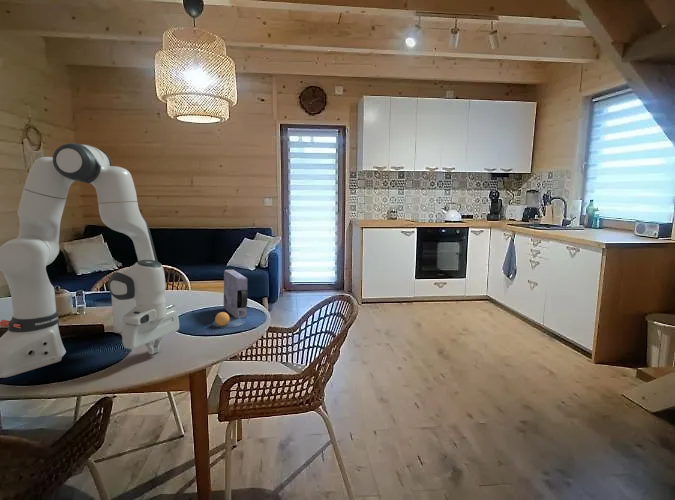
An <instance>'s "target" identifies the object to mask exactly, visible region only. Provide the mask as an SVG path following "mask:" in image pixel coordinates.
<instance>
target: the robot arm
mask: <svg viewBox="0 0 675 500" xmlns="http://www.w3.org/2000/svg"><path fill="white" fill-rule="evenodd" d="M74 182H81V183H85V184H91V185H92V186H93V187H94V189H95V191H96V196H97V197H96V198H97V203H98V213H99V216H100V220H101V222H102V223H103V224H104V225H105V226H106V227H107V228H109V229H111V230H112V231H115V232H118V233H122V234H124V235H126V236H128V237H129V238H130V239H131V240H132V242H133V246H134V250H135V254H136V257H137V262H135V263H134V264H133V265H131V266H130V267H127V268H124V269H120V270H117V271H115V272H113V273H111V275H110V277H109V278H108V283H107V285H108V286H107V287H108V290H109V293H110V294H111V297H112V296H114V297H115V298H116V299H119V300H128V299H135V300H136V307H134V308H133V309H132V310H131V311H130V312H128V313H127V314H125V315H124V316H123V318H122V321H123V322H124V323H126V324H124V326H123V329H122V333H121V337H122V338H121V341H122V346H123V347H124V348H125V349H128V350H135V349H137V348H140V347H142V346H145V347H146V348H147V351H148V354H149V355H154V354H156V353H157V352H159V351H160V345H161V344H162V341H163V338H164V337H165V336H167V335H171V334H173V333H176V332H177V331H179V329H180V320H179V315H178V311H177V306H176V305H174V304H169V305H167V298H166V293H165V292H166V287H167V285H166V277H165V270H164V267H163V265H162V263H160V262H159V261H158V257H157V253H156V249H155V245H154V240H153V238H152V234H151V230H150V226H149V224H148V223H147V222H148V221H147V220H146V219H145V218H144V217H143V215H142V214H141V211H140V208H139V204H138V196H137V190H136V187H135V183H134V179H133V177H132V174H131V172H130V171H129V170H127V168H123V167H121V166H115V165H113V162H112V160H111V158H110V156H109V155H108V153H107V152H105V151H104V150H103V149H100V148H98V147H95V146H92V145H89V144H85V143H83V144H81V143H78V142H77V143H76V142H69V143H64V144H62V145H60V146H59V147H57V148H56V150H55V151H54V152H53V155H52V156H42V157H39V158H37V159H36V160H35V161H34V162H33V164H32V166H31V168H30V170H29V172H28V174H27V177H26V179H25V183H24V186H23V188H22V189H23V190H22V193H21V198H20V200H19V201H20V202H19V205H18V209H17V217H18V218H19V220H18V221H19V232H18V235H17V237H16V238H12V239H10V240H7V241H6V242H5V243H3V244H2V245H1V246H0V272H1V273H2V274H3V276H4V278H5V280H6V283H7V286H8V288H9V292H10V296H11V305H12V314H13V315H12V317H11V318H10V319H11V320H6V319H2V320H0V327H4V328H8V329H7V331H6V332H5V333H3V335H1V337H0V379H1V378H3V379H5V378H9V377H13V376H17V375H20V374H23V373H26V372H29V371H33V370H36V369H39V368H42V367H45V366H49V365H52V364H56V363H59V362H61V361H62V359H63V357H64V355H65V354H66V353H67V351H66V348H65V347H64V344H63V340H62V337H61V334H60V329H59V326H60V325H59V323H60V319H59V317H60V316H59V311H58V310H57V305H56V293H55V287H54V286H53V284H52V283H51V281H50V279H49V276H48V272H47V266H48V265H49V266H50V264H52V263H53V262H54V261H55V260H56V258H57V256H58V255H59V254H60V245H59V244H60V243H59V242H60V232H61V231H60V230H61V221H62V218H63V217H62V216H63V213H64V211H65V206H66V202H67V197H68V194H69V190H70V187H71V185H72V184H73V183H74Z"/></svg>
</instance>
